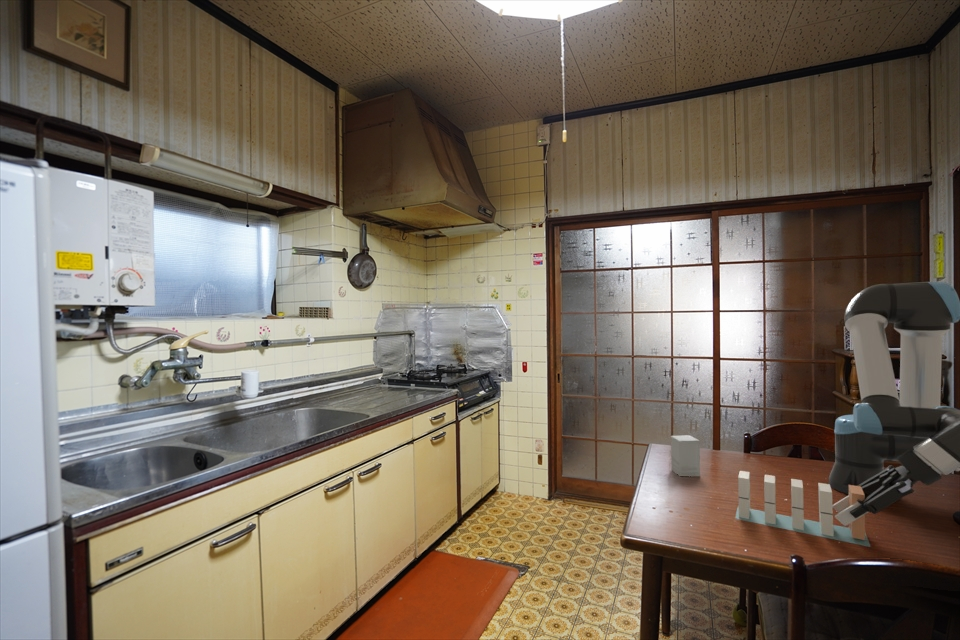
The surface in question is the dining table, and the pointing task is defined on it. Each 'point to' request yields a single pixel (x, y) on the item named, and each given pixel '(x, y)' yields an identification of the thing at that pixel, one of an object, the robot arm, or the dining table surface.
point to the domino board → (809, 527)
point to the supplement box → (685, 455)
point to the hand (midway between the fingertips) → (838, 515)
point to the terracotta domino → (859, 524)
